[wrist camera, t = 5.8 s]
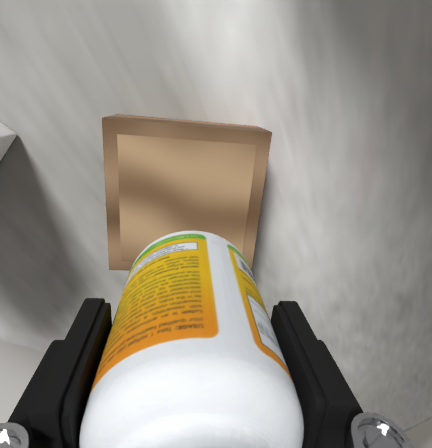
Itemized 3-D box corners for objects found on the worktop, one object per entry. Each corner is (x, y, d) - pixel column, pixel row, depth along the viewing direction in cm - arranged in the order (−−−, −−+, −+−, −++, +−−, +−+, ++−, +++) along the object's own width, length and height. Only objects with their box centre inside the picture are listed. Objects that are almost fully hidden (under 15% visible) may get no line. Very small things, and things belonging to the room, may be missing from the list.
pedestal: (117, 114, 26) (101, 117, 21) (257, 126, 27) (272, 132, 22) (121, 243, 30) (109, 270, 25) (241, 248, 32) (250, 274, 27)
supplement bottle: (113, 311, 14) (-22, 696, 5) (154, 207, 12) (65, 503, 3) (220, 342, 15) (269, 695, 6) (271, 252, 14) (440, 557, 5)
